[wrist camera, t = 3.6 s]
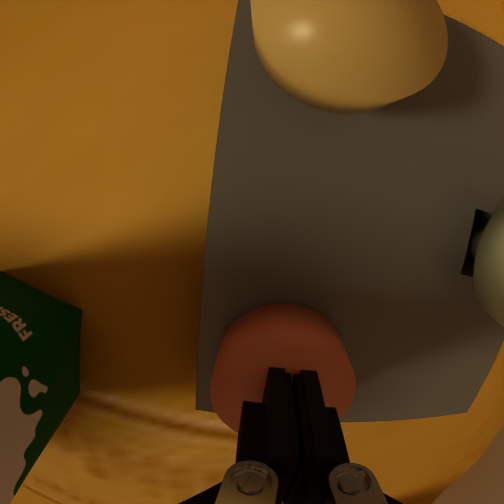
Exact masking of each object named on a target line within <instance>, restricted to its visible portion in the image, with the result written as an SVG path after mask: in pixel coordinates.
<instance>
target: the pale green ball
mask: <svg viewBox="0 0 504 504" xmlns="http://www.w3.org/2000/svg"><path fill="white" fill-rule="evenodd" d="M470 250H471V254H472V257H473V258H474V259H475V263H474V274H473V279H474V289H475V294H476V298H477V300H478V303H479V305H480V306H481V308H482V309H483V310H484V311H485V312H486V313H487V314H488V315H490V316H491V317H492V318H493V319H495V320H496V321H497V322H498V323H499V324H501V325H502V326H503V327H504V203H503V204H502V205H501V206H500V207H499V208H498V209H497V210H496V211H495V213H494V214H493V215H492V217H491V218H490V220H489V222H488V223H487V225H482V226H480V227H479V228H478V229H477V230H476V231H475V232H474V234H473V236H472V239H471V243H470Z"/></svg>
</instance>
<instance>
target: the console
mask: <svg viewBox="0 0 504 504" xmlns="http://www.w3.org/2000/svg"><path fill="white" fill-rule="evenodd" d="M444 18H445V22H446V26H447V33H448V49H447V55H446V59H445V61H444V64H443V67H442V68H441V70H440V72H439V74H438V75H437V76H436V77H435V79H434V80H433V81H432V82H431V83H430V84H428V85H427V86H426V87H425V88H424V89H422V90H420V91H418V92H416V93H415V94H412V95H410V96H408V97H405V98H403V99H400V100H398V101H396V102H393V103H391V104H388V105H386V106H384V107H382V108H379V109H377V110H374V111H371V112H367V113H363V114H354V115H341V114H334V113H328V112H324V111H320V110H317V109H314V108H312V107H309V106H307V105H305V104H303V103H301V102H299V101H297V100H296V99H294V98H293V97H291V96H289V95H288V94H287V93H286V92H284V91H283V90H282V89H281V88H279V87H278V86H277V84H276V83H275V82H274V81H273V80H272V79H271V78H270V77H269V75H268V74H267V73H266V71H265V70H264V68H263V66H262V65H261V63H260V61H259V58H258V56H257V53H256V50H255V46H254V38H253V27H252V15H251V3H250V0H239V1H238V6H237V12H236V17H235V23H234V29H233V34H232V40H231V46H230V53H229V59H228V65H227V72H226V78H225V85H224V92H223V99H222V106H221V113H220V121H219V128H218V136H217V144H216V152H215V160H214V169H213V177H212V186H211V196H210V205H209V215H208V225H207V236H206V247H205V258H204V270H203V283H202V296H201V310H200V326H199V343H198V361H197V383H196V410H202V411H208V412H215V413H216V411H215V410H214V408H213V405H212V403H211V398H210V385H211V380H212V375H213V371H214V367H215V362H216V358H217V354H218V349H219V345H220V342H221V339H222V337H223V335H224V334H225V332H226V331H227V329H228V328H229V327H230V325H231V324H232V323H233V322H234V321H236V320H237V319H238V318H239V317H241V316H242V315H244V314H246V313H247V312H249V311H251V310H254V309H256V308H259V307H262V306H266V305H271V304H282V303H285V304H296V305H301V306H304V307H308V308H310V309H313V310H315V311H317V312H318V313H320V314H322V315H323V316H324V317H326V318H327V319H328V320H329V321H330V322H331V323H332V324H333V325H334V327H335V328H336V330H337V331H338V334H339V336H340V338H341V341H342V343H343V346H344V348H345V350H346V353H347V355H348V358H349V360H350V363H351V365H352V368H353V371H354V373H355V378H356V390H355V395H354V398H353V401H352V403H351V405H350V407H349V408H348V410H347V411H346V413H345V414H344V415H343V416H342V417H341V419H339V421H340V422H369V421H391V420H406V419H417V418H427V417H436V416H444V415H451V414H458V413H465V412H467V411H468V410H469V408H470V406H471V404H472V403H473V401H474V399H475V397H476V395H477V394H478V392H479V390H480V388H481V386H482V384H483V382H484V380H485V379H486V377H487V375H488V373H489V371H490V368H491V366H492V364H493V362H494V360H495V358H496V356H497V354H498V351H499V349H500V347H501V344H502V342H503V340H504V327H503V326H502V325H501V324H499V323H498V322H497V321H496V320H495V319H493V318H492V317H491V316H490V315H488V314H487V313H486V312H485V311H484V310H483V309H482V308H481V306H480V305H479V303H478V300H477V298H476V294H475V289H474V279H473V274H474V263H475V259H474V258H472V262H466V261H464V260H465V256H466V252H467V248H468V244H469V239H470V235H471V230H472V225H473V221H474V215H475V210H476V209H479V210H483V213H482V218H481V223H480V226H482V225H487V223H488V222H489V220H490V218H491V217H492V215H493V214H494V213H495V211H496V210H497V209H498V208H499V207H500V206H501V205H502V204H503V203H504V46H502V45H501V44H499V43H497V42H496V41H494V40H492V39H491V38H489V37H487V36H485V35H483V34H482V33H480V32H478V31H476V30H474V29H472V28H470V27H468V26H467V25H465V24H463V23H461V22H458V21H456V20H454V19H452V18H450V17H448V16H446V15H444Z"/></svg>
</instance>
